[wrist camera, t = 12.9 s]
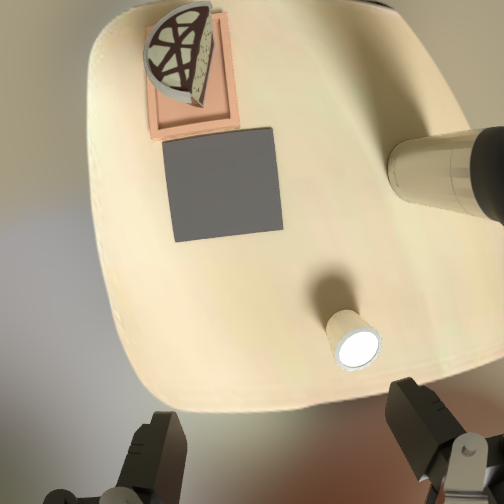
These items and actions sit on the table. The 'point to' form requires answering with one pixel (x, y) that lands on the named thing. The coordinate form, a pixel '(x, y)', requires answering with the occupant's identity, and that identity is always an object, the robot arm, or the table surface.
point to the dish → (216, 101)
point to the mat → (223, 185)
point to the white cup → (352, 340)
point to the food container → (182, 53)
